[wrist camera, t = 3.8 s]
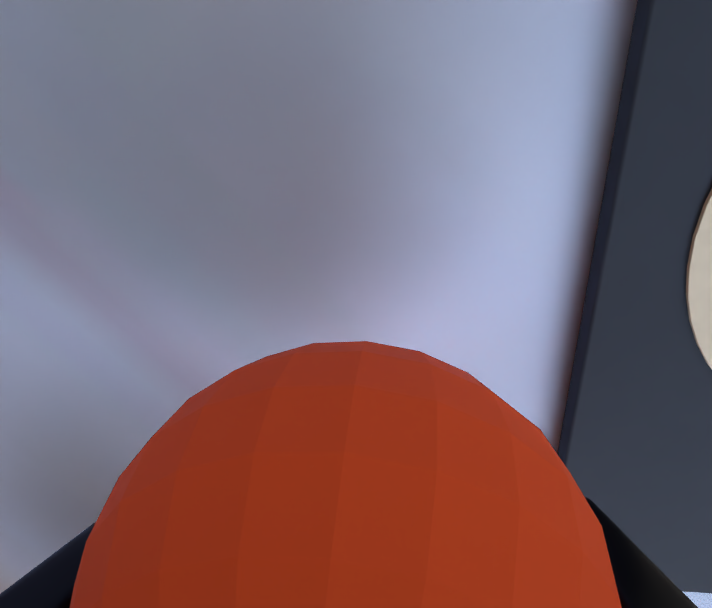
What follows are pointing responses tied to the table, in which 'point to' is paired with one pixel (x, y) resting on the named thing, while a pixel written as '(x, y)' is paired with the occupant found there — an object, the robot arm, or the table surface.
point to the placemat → (653, 305)
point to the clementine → (346, 496)
